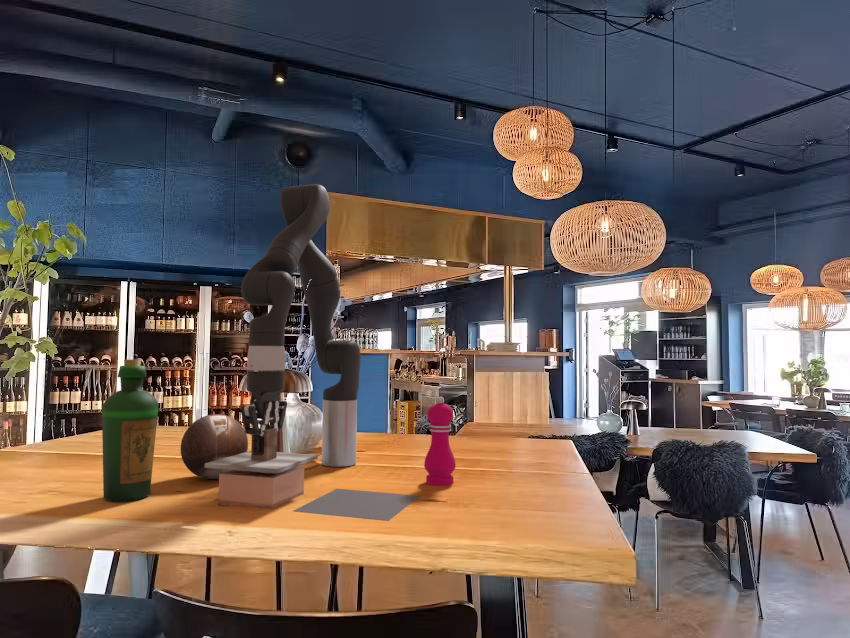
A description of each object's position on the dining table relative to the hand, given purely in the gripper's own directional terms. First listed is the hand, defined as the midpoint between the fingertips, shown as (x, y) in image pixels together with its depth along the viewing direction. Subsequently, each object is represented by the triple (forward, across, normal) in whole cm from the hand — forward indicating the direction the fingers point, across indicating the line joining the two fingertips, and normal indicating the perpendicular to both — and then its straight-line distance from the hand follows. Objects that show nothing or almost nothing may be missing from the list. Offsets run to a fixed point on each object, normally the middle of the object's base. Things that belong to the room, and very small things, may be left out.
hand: (263, 452), depth 117 cm
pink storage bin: (+9, 0, 0) cm, 9 cm away
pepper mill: (+10, -26, +30) cm, 41 cm away
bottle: (+10, +7, -27) cm, 30 cm away
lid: (+2, 0, 0) cm, 2 cm away
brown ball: (+10, -14, -22) cm, 28 cm away
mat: (+9, -3, +20) cm, 22 cm away
